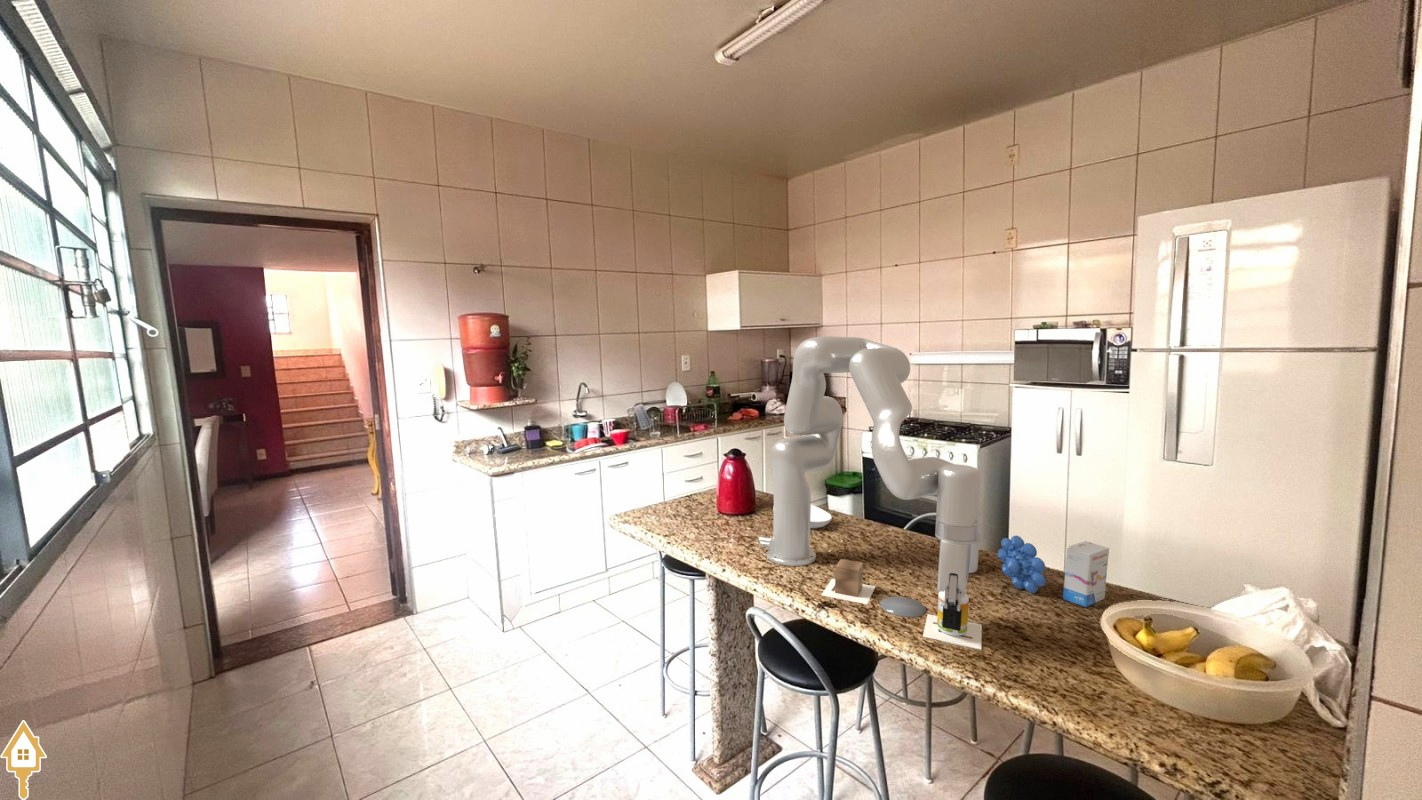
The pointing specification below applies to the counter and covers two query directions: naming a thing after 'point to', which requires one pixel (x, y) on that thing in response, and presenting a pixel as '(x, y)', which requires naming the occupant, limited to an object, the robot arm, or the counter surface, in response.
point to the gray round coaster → (903, 606)
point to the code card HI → (862, 597)
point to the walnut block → (848, 577)
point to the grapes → (1022, 564)
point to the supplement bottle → (964, 614)
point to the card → (967, 640)
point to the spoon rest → (818, 517)
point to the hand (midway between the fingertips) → (952, 620)
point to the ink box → (1085, 573)
